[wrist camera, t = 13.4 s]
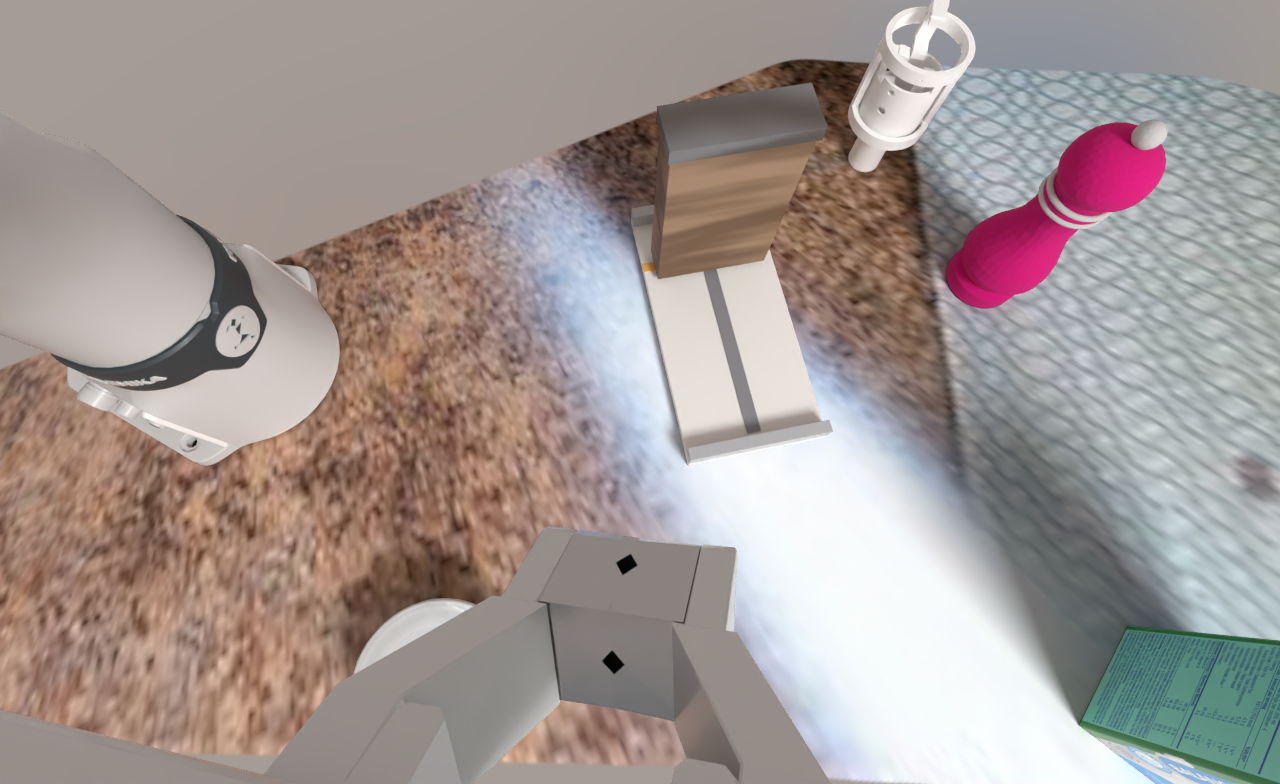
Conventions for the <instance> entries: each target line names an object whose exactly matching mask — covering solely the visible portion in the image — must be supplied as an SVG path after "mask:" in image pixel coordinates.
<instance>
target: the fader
mask: <svg viewBox="0 0 1280 784" xmlns="http://www.w3.org/2000/svg"><path fill="white" fill-rule="evenodd" d="M656 120H657V124H658V128H659V132H660V134H659V148H658V161H657V175H656V188H655V201H654V215H653V228H652V242H651V254H652V258H653V262H654V266H655V270H656V274H657V278H658V279H663V278H669V277H675V276H680V275H686V274H691V273H697V272H703V271H708V270H714V269H720V268H725V267H731V266H737V265H742V264H748V263H753V262H759V261H764V259H765V257H766V255H767V252H768V250H769V248H770V246H771V243H772V241H773V239H774V236H775V234H776V232H777V230H778V227H779V225H780V223H781V220H782V218H783V216H784V213H785V211H786V209H787V207H788V204H789V202H790V200H791V197H792V195H793V193H794V190H795V188H796V186H797V184H798V181H799V179H800V177H801V174H802V172H803V170H804V168H805V165H806V163H807V161H808V158H809V156H810V154H811V151H812V149H813V147H814V145H815V142H816V141H819V140H822V139H823V137H824V135H825V132H826V130H827V128H828V125H827V123H826V120H825V117H824V115H823V112H822V109H821V106H820V104H819V101H818V98H817V95H816V93H815V90H814V87H813V85H812V83H806V84H800V85H793V86H787V87H780V88H774V89H767V90H761V91H754V92H747V93H741V94H734V95H728V96H721V97H715V98H708V99H702V100H695V101H689V102H682V103H676V104H669V105H663V106H657V118H656Z"/></svg>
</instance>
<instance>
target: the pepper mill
mask: <svg viewBox="0 0 1280 784" xmlns="http://www.w3.org/2000/svg"><path fill="white" fill-rule="evenodd" d="M1167 133H1168V130H1167V126H1166V125H1165V123H1163V122H1162V121H1159V120H1148V121H1145V122H1143V123H1141V124H1140V125H1134V124H1130V123H1118V122H1117V123H1109V124H1105V125H1101V126H1098V127H1095V128H1093V129H1091V130H1089V131H1088V132H1086V133H1084V134H1083V135H1081V136H1080V137H1078V138H1077V139H1076V140H1075V141H1074V142H1073V143H1072V144H1071V145H1070V146H1069V147H1068V148H1067V149H1066V150H1065V152H1064V153H1063V154H1062V156H1061V159H1060V162H1059V165H1058V167H1057V168H1056V169H1054V170H1053V171H1052V172H1051V174H1050V175H1049V176H1047V177H1046V178H1045V179H1044V180H1043V181H1042V183H1041V185H1040V187H1039V191H1038V194H1037V195H1036V197H1034V198H1033V199H1032V200H1031V201H1029V202H1028V203H1027V204H1025V205H1024V206H1022V207H1019V208H1016V209H1012V210H1008V211H1004V212H1001V213H998V214H996V215H994V216H992V217H990V218H988V219H986V220H984V221H983V222H981V223H980V224H979V225H978V226H976V227H975V228H974V229H973V230H972V231H971V232H970V233H969V235H968V236H967V238H966V240H965V242H964V245H963V248H961V249H960V250H959V251H958V252H957V253H956V254H955V255H954V256H953V257H952V259H951V260H950V261H949V263H948V266H947V270H946V277H947V282H948V284H949V287H950V289H951V290H952V291H953V293H954V294H955V295H956V297H958V298H959V299H960V300H961V301H963V302H964V303H966V304H968V305H970V306H973V307H977V308H992V307H996V306H999V305H1001V304H1002V303H1004V302H1005V301H1007V300H1008V299H1009V298H1011V297H1012V296H1013V295H1015V294H1020V293H1024V292H1027V291H1029V290H1031V289H1033V288H1034V287H1036V286H1037V285H1038V284H1039V283H1041V282H1042V281H1043V280H1044V279H1045V278H1046V277H1047V276H1048V275H1049V273H1050V272H1051V271H1052V269H1053V268H1054V266H1055V265H1056V263H1057V261H1058V259H1059V257H1060V254H1061V252H1062V250H1063V248H1064V246H1065V244H1066V242H1067V241H1068V239H1069V238H1070V237H1071V236H1072V235H1073V234H1074V233H1075V232H1076V231H1077V230H1079V229H1087V228H1091V227H1093V226H1095V225H1097V224H1098V223H1099V222H1101V220H1102V219H1105V218H1106V217H1108V216H1109V215H1110V214H1111V213H1112V212H1116V211H1120V210H1124V209H1127V208H1129V207H1132V206H1134V205H1135V204H1137V203H1138V202H1140V201H1141V200H1143V199H1144V198H1145V197H1146V196H1147V195H1148V194H1150V193H1151V192H1152V190H1153V189H1154V188H1155V187H1156V186H1157V184H1158V183H1159V181H1160V180H1161V178H1162V176H1163V173H1164V170H1165V164H1166V158H1165V152H1164V149H1163V147H1162V145H1161V143H1162V142H1163V141H1164V140H1165V138H1166V136H1167Z"/></svg>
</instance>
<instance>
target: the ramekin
mask: <svg viewBox="0 0 1280 784" xmlns="http://www.w3.org/2000/svg"><path fill="white" fill-rule="evenodd" d="M475 605H476V604H473V603H471V602H468V601H464V600H460V599H452V598H438V599H430V600H426V601H422V602H419V603H416V604H414V605H411V606H409V607H407V608H405V609H403V610H401V611H400V612H398V613H396V614H395V615H393V616H392V617H391V618H389V619H388V620H387V621H386V622H385V623H384V624H383V625H381V626H380V627H379V628H378V630H377V631H376V632H375V633H374V634H373V635H372V637H371V638H370V639H369V640H368V642H367V643H366V645H365V647H364V648H363V650H362V652H361V654H360V656H359V658H358V660H357V663H356V666H355V669H354V672H353V675H354V674H355V673H357V672H359V671H361V670H362V669H364V668H366V667H368V666H370V665H371V664H373V663H375V662H377V661H378V660H380V659H382V658H384V657H385V656H387V655H389V654H391V653H392V652H394V651H396V650H398V649H399V648H401V647H403V646H405V645H406V644H408V643H410V642H412V641H413V640H415V639H417V638H419V637H420V636H422V635H424V634H426V633H427V632H429V631H431V630H433V629H434V628H436V627H438V626H440V625H442V624H443V623H445V622H447V621H449V620H450V619H452V618H454V617H456V616H457V615H459V614H461V613H463V612H464V611H466V610H468V609H470V608H471V607H473V606H475Z"/></svg>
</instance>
